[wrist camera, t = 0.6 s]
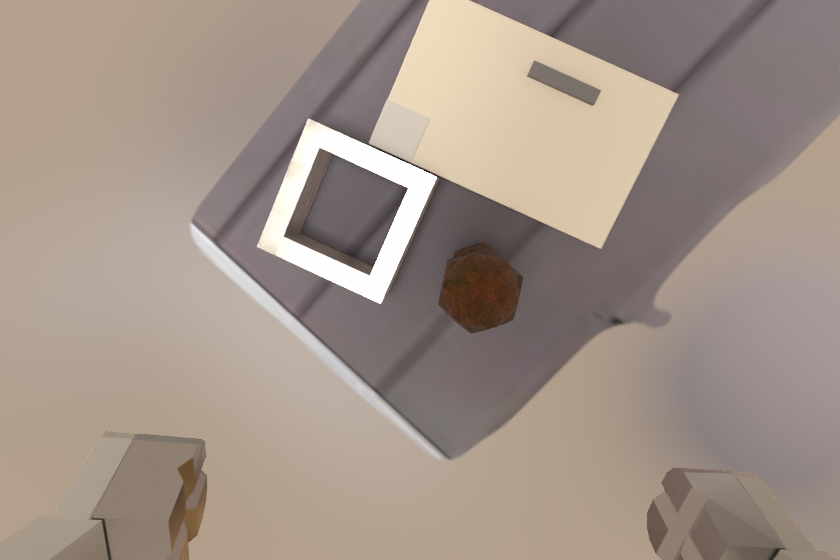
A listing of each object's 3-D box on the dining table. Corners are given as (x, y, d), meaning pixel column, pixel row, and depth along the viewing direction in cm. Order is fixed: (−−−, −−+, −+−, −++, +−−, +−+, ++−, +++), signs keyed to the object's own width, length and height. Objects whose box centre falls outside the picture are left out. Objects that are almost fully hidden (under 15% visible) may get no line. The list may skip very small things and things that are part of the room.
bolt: (433, 265, 52) (421, 290, 37) (470, 224, 51) (473, 233, 36) (480, 307, 52) (487, 349, 37) (518, 266, 51) (540, 293, 36)
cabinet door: (436, -7, 48) (435, -19, 46) (671, 98, 48) (682, 92, 46) (372, 145, 51) (367, 142, 48) (595, 247, 50) (603, 249, 48)
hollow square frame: (323, 126, 51) (308, 118, 46) (439, 179, 51) (436, 176, 46) (276, 242, 53) (256, 246, 48) (388, 293, 52) (380, 303, 47)
